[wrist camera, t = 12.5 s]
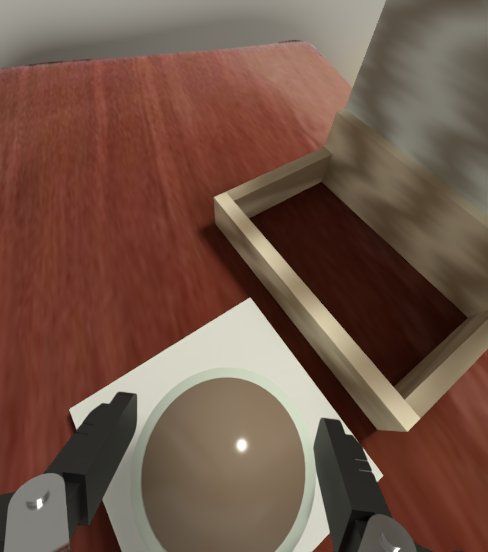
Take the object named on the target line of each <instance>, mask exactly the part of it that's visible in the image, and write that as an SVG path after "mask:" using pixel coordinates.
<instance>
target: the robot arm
mask: <svg viewBox="0 0 488 552" xmlns="http://www.w3.org/2000/svg"><path fill="white" fill-rule="evenodd" d="M136 426H137V394H136V393H128V392H120V391H119V392H117V393H116V395H115V396H114V398H113V399H112V401H111V402H110V403H109V404H107V403H102V404H100V405H99V406H97V407H96V408H95V409H93V410H92V411H91V412H90V413H89V414H88V416H87V417H86V418H85V420H84V421H83V422H82V425H80V426H79V427H78V429H77V430H76V431H75V434H73V435H72V437H71V438H70V439H69V441H68V442H67V443H66V445H65V446H64V447H63V449H62V450H61V451H60V453H59V454H58V455H57V457H56V458H55V459H54V461H53V462H52V463H51V465H50V466H49V467H48V469H47V470H46V471H45V472H44V474H42V475H39V476H37V477H35V478H33V479H31V480H29V481H28V482H26V483H25V484H24V485H22V486H21V487H20V488H19V489H18V490H17V491H16V492H12V493H8V494H3V495H0V552H71V543H70V539H71V537H72V535H73V534H74V532H75V530H76V528H77V526H78V525H84V526H89V525H90V523H91V521H92V519H93V517H94V515H95V513H96V511H97V509H98V507H99V505H100V503H101V501H102V499H103V497H104V495H105V493H106V491H107V489H108V487H109V485H110V483H111V481H112V479H113V477H114V475H115V473H116V471H117V469H118V466H119V464H120V462H121V460H122V458H123V456H124V454H125V452H126V450H127V448H128V446H129V444H130V442H131V440H132V438H133V436H134V433H135V430H136ZM313 451H314V457H315V466H316V473H317V477H318V481H319V486H320V490H321V495H322V499H323V504H324V508H325V513H326V517H327V522H328V526H329V531H330V535H331V540H332V544H333V548H334V552H432V551H430V550H428V549H426V548H424V547H422V546H420V545H418V544H417V543H415V542H414V541H413V540H412V538H411V537H410V535H409V534H408V532H407V531H406V530H405V529H404V528H403V527H402V526H401V525H400V524H399V523H398V522H397V521H395V520H394V519H393V518H392V516H391V513H390V511H389V509H388V506H387V504H386V502H385V499H384V497H383V495H382V492H381V490H380V488H379V485H378V483H377V481H376V478H375V476H374V474H373V473H372V469H371V467H370V464H369V462H368V461H367V457H366V455H365V453H364V450H363V448H362V446H361V445H360V444H359V442H358V441H357V440H356V439H355V438H354V436H353V435H349V434H345V431H344V429H343V426H342V424H341V421H340V420H338V419H330V418H321V419H320V421H319V425H318V429H317V433H316V437H315V441H314V446H313ZM453 552H463V551H453Z"/></svg>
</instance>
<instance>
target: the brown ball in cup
mask: <svg viewBox="0 0 488 552" xmlns="http://www.w3.org/2000/svg"><path fill="white" fill-rule="evenodd" d="M315 485H316V466H315V457H314V451H313V446H312V442H311V438H310V435H309V432H308V429H307V427H306V424H305V422H304V420H303V418H302V416H301V414H300V413H299V411H298V409H297V408H296V406H295V405H294V403H293V402H292V401H291V399H290V398H289V397H288V396H287V395H286V394H285V393H284V392H283V391H282V390H281V389H280V388H279V387H278V386H277V385H275V384H274V383H273V382H271V381H270V380H268V379H266V378H265V377H263V376H261V375H259V374H257V373H254V372H252V371H248V370H244V369H239V368H215V369H209V370H206V371H202V372H199V373H197V374H195V375H192V376H190V377H188V378H187V379H185V380H183V381H182V382H180V383H179V384H178V385H176V386H175V387H174V388H172V389H171V390H170V391H169V392H168V393H167V394H166V395H165V396H164V397H163V398H162V399H161V400H160V402H159V403H158V404H157V405H156V406H155V408H154V409H153V411H152V412H151V414H150V416H149V417H148V419H147V421H146V423H145V425H144V427H143V429H142V431H141V433H140V436H139V439H138V441H137V444H136V448H135V452H134V456H133V461H132V467H131V479H130V492H131V504H132V509H133V514H134V519H135V522H136V525H137V528H138V531H139V534H140V536H141V538H142V540H143V542H144V544H145V546H146V548H147V550H148V551H149V552H293V550H294V548H295V547H296V545H297V544H298V542H299V541H300V539H301V536H302V534H303V532H304V530H305V528H306V526H307V523H308V520H309V517H310V514H311V510H312V505H313V501H314V495H315Z"/></svg>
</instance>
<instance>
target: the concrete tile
mask: <svg viewBox="0 0 488 552" xmlns="http://www.w3.org/2000/svg"><path fill="white" fill-rule="evenodd" d="M215 368H239V369H244V370H248V371H252V372H254V373H257V374H259V375H261V376H263V377H265V378H266V379H268V380H270V381H271V382H273V383H274V384H275V385H277V386H278V387H279V388H280V389H281V390H282V391H283V392H284V393H285V394H286V395H287V396H288V397H289V398H290V399H291V401H292V402H293V403H294V405H295V406H296V408H297V409H298V411H299V413H300V414H301V416H302V418H303V420H304V422H305V424H306V427H307V429H308V432H309V435H310V438H311V442H312V446H314V441H315V437H316V433H317V429H318V425H319V421H320V419H321V418H330V419H338V420H340V421H341V424H342V426H343V429H344V431H345V434H349V435H353V434H352V433H351V431H350V430H349V429H348V427H347V426H346V425H345V423H344V422H343V421H342V419H341V418H340V417H339V415H338V414H337V413H336V411H335V410H334V409H333V407H332V406H331V405H330V403H329V402H328V401H327V399H326V398H325V397H324V395H323V394H322V393H321V391H320V390H319V389H318V387H317V386H316V385H315V383H314V382H313V381H312V379H311V378H310V377H309V375H308V374H307V373H306V371H305V370H304V369H303V367H302V366H301V365H300V363H299V362H298V361H297V359H296V358H295V357H294V355H293V354H292V352H291V351H290V350H289V348H288V347H287V346H286V344H285V343H284V342H283V340H282V339H281V338H280V336H279V335H278V334H277V332H276V331H275V330H274V328H273V327H272V326H271V324H270V323H269V322H268V320H267V319H266V318H265V316H264V315H263V314H262V312H261V311H260V310H259V308H258V307H257V306H256V304H255V303H254V302H253V300H252V299H251V298H248V299H247V300H245V301H244V302H242V303H240V304H239V305H237V306H235V307H234V308H232V309H231V310H229V311H227V312H226V313H224V314H223V315H221V316H219V317H218V318H216V319H214V320H213V321H211V322H210V323H208V324H206V325H205V326H203V327H202V328H200V329H198V330H197V331H195V332H193V333H192V334H190V335H189V336H187V337H185V338H184V339H182V340H181V341H179V342H177V343H176V344H174V345H172V346H171V347H169V348H168V349H166V350H164V351H163V352H161V353H160V354H158V355H156V356H155V357H153V358H151V359H150V360H148V361H147V362H145V363H143V364H142V365H140V366H139V367H137V368H135V369H134V370H132V371H130V372H129V373H127V374H126V375H124V376H122V377H121V378H119V379H118V380H116V381H114V382H113V383H111V384H109V385H108V386H106V387H105V388H103V389H101V390H100V391H98V392H97V393H95V394H93V395H92V396H90V397H88V398H87V399H85V400H84V401H82V402H80V403H79V404H77V405H76V406H74V407H72V408H71V409H69V410H70V413H71V416H72V419H73V421H74V424H75V427H76V429H78V427H79V426H80V425H82V422H83V421H84V420H85V418H86V417H87V416H88V414H89V413H90V412H91V411H92V410H93V409H95V408H96V407H97V406H99V405H100V404H102V403H107V404H109V403H110V402H111V401H112V399H113V398H114V396H115V395H116V393H117V392H119V391H120V392H128V393H136V394H137V426H136V430H135V433H134V436H133V438H132V440H131V442H130V444H129V446H128V448H127V450H126V452H125V454H124V456H123V458H122V460H121V462H120V464H119V466H118V469H117V471H116V473H115V475H114V477H113V479H112V481H111V483H110V485H109V487H108V489H107V491H106V493H105V495H104V497H103V499H102V500H103V502H104V505H105V508H106V511H107V513H108V516H109V519H110V521H111V524H112V527H113V529H114V532H115V535H116V538H117V540H118V543H119V546H120V548H121V551H122V552H149V551H148V550H147V548H146V546H145V544H144V542H143V540H142V538H141V536H140V534H139V531H138V528H137V525H136V522H135V519H134V514H133V509H132V504H131V492H130V479H131V467H132V461H133V456H134V452H135V448H136V444H137V441H138V439H139V436H140V433H141V431H142V429H143V427H144V425H145V423H146V421H147V419H148V417H149V416H150V414H151V412H152V411H153V409H154V408H155V406H156V405H157V404H158V403H159V402H160V400H161V399H162V398H163V397H164V396H165V395H166V394H167V393H168V392H169V391H170V390H171V389H172V388H174V387H175V386H176V385H178V384H179V383H180V382H182V381H183V380H185V379H187V378H188V377H190V376H192V375H195V374H197V373H199V372H202V371H206V370H209V369H215ZM353 436H354V435H353ZM354 438H355V437H354ZM355 439H356V438H355ZM363 450H364V449H363ZM364 453H365V455H366V457H367V461H368V462H369V464H370V467H371V469H372V473H373V474H374V476H375V478H376V481H377V482H378V481H379V480H380V479H381V478H382V477H383V474H382V473H381V472H380V470H379V469H378V468H377V466H376V465H375V464H374V462H373V461H372V460H371V458H370V457H369V456H368V454H367V453H366V452H365V450H364ZM329 533H330V531H329V526H328V522H327V517H326V513H325V508H324V504H323V499H322V495H321V490H320V486H319V481H318V477H317V473H316V485H315V495H314V501H313V505H312V510H311V514H310V517H309V520H308V523H307V526H306V528H305V530H304V532H303V534H302V536H301V539H300V541H299V542H298V544H297V545H296V547H295V548H294V550H293V552H312V551H313V550H314V549H315V548H316V547H317V546H318V545H319V544H320V543H321V542H322V540H323V539H324V538H325V537H326V536H327V535H328V534H329Z"/></svg>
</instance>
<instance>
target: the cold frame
mask: <svg viewBox="0 0 488 552" xmlns="http://www.w3.org/2000/svg"><path fill="white" fill-rule="evenodd" d="M320 182H322V183H323V184H324V185H325V186H326V187H328V188H329V189H330V190H331V191H332V192H333V193H334V194H335V195H336V196H337V197H338V198H339V199H340V200H342V201H343V202H344V203H345V204H346V205H347V206H348V207H349V208H350V209H351V210H352V211H353V212H354V213H356V214H357V215H358V216H359V217H360V218H361V219H362V220H363V221H364V222H365V223H366V224H367V225H369V226H370V227H371V228H372V229H373V230H374V231H375V232H376V233H377V234H378V235H379V236H380V237H381V238H383V239H384V240H385V241H386V242H387V243H388V244H389V245H390V246H391V247H392V248H393V249H394V250H395V251H397V252H398V253H399V254H400V255H401V256H402V257H403V258H404V259H405V260H406V261H407V262H408V263H410V264H411V265H412V266H413V267H414V268H415V269H416V270H417V271H418V272H419V273H420V274H421V275H422V276H424V277H425V278H426V279H427V280H428V281H429V282H430V283H431V284H432V285H433V286H434V287H435V288H436V289H438V290H439V291H440V292H441V293H442V294H443V295H444V296H445V297H446V298H447V299H448V300H449V301H451V302H452V303H453V304H454V305H455V306H456V307H457V308H458V309H459V310H460V311H461V312H462V313H463V314H465V315H466V316H467V317H468V318H467V319H466V320H465V321H464V322H463V323H462V324H461V325H460V326H459V327H457V328H456V329H455V330H454V331H453V332H452V333H451V334H450V335H449V336H448V337H447V338H446V339H445V340H443V341H442V342H441V343H440V344H439V345H438V346H437V347H436V348H435V349H434V350H433V351H432V352H431V353H429V354H428V355H427V356H426V357H425V358H424V359H423V360H422V361H421V362H420V363H419V364H418V365H417V366H416V367H414V368H413V369H412V370H411V371H410V372H409V373H408V374H407V375H406V376H405V377H404V378H403V379H402V380H400V381H399V382H398V383H397V384H396V385H395V386H394V387H393V386H392V385H391V384H390V382H389V381H388V380H387V379H386V378H385V377H384V375H383V374H382V373H381V372H380V371H379V370H378V368H377V367H376V366H375V365H374V364H373V363H372V361H371V360H370V359H369V358H368V357H367V356H366V354H365V353H364V352H363V351H362V350H361V349H360V347H359V346H358V345H357V344H356V343H355V342H354V341H353V339H352V338H351V337H350V336H349V335H348V334H347V332H346V331H345V330H344V329H343V328H342V327H341V325H340V324H339V323H338V322H337V321H336V320H335V318H334V317H333V316H332V315H331V314H330V313H329V311H328V310H327V309H326V308H325V307H324V306H323V304H322V303H321V302H320V301H319V300H318V299H317V297H316V296H315V295H314V294H313V293H312V292H311V290H310V289H309V288H308V287H307V286H306V285H305V283H304V282H303V281H302V280H301V279H300V278H299V276H298V275H297V274H296V273H295V272H294V271H293V270H292V268H291V267H290V266H289V265H288V264H287V263H286V261H285V260H284V259H283V258H282V257H281V256H280V254H279V253H278V252H277V251H276V250H275V249H274V247H273V246H272V245H271V244H270V243H269V242H268V240H267V239H266V238H265V237H264V236H263V235H262V233H261V232H260V231H259V230H258V229H257V228H256V226H255V225H254V224H253V223H252V222H251V221H250V219H249V218H251V217H253V216H255V215H257V214H259V213H261V212H263V211H265V210H267V209H269V208H271V207H273V206H275V205H277V204H279V203H281V202H282V201H284V200H286V199H288V198H290V197H292V196H294V195H296V194H298V193H300V192H302V191H304V190H306V189H308V188H310V187H312V186H314V185H316V184H318V183H320ZM214 208H215V224H216V225H217V226H218V228H219V229H220V230H221V232H222V233H223V234H224V235H225V237H226V238H227V239H228V240H229V242H230V243H231V244H232V246H233V247H234V248H235V249H236V251H237V252H238V253H239V254H240V256H241V257H242V258H243V260H244V261H245V262H246V263H247V265H248V266H249V267H250V268H251V270H252V271H253V272H254V274H255V275H256V276H257V277H258V279H259V280H260V281H261V282H262V284H263V285H264V286H265V288H266V289H267V290H268V291H269V293H270V294H271V295H272V296H273V298H274V299H275V300H276V302H277V303H278V304H279V305H280V307H281V308H282V309H283V310H284V312H285V313H286V314H287V315H288V317H289V318H290V319H291V321H292V322H293V323H294V324H295V326H296V327H297V328H298V329H299V331H300V332H301V333H302V335H303V336H304V337H305V338H306V340H307V341H308V342H309V343H310V345H311V346H312V347H313V349H314V350H315V351H316V352H317V354H318V355H319V356H320V357H321V359H322V360H323V361H324V363H325V364H326V365H327V366H328V368H329V369H330V370H331V371H332V373H333V374H334V375H335V377H336V378H337V379H338V380H339V382H340V383H341V384H342V385H343V387H344V388H345V389H346V391H347V392H348V393H349V394H350V396H351V397H352V398H353V399H354V401H355V402H356V403H357V405H358V406H359V407H360V408H361V410H362V411H363V412H364V413H365V415H366V416H367V417H368V419H369V420H370V421H371V422H372V424H373V425H374V426H375V427H376V429H377V430H387V431H402V432H408V431H409V430H410V429H411V428H412V427H413V426H414V425H415V424H416V422H417V421H418V420H419V419H420V418H421V417H422V416H423V415H424V414H425V413H426V412H427V411H428V410H429V409H430V408H431V407H432V406H433V405H434V404H435V403H436V402H437V401H438V400H439V399H440V398H441V397H442V396H443V395H444V394H445V393H446V391H447V390H448V389H449V388H450V387H451V386H452V385H453V384H454V383H455V382H456V381H457V380H458V379H459V378H460V377H461V376H462V375H463V374H464V373H465V372H466V371H467V370H468V369H469V368H470V367H471V366H472V365H473V364H474V363H475V362H476V360H477V359H478V358H479V357H480V356H481V355H482V354H483V353H484V352H485V351H486V350H487V349H488V0H386V2H385V5H384V8H383V10H382V13H381V16H380V18H379V21H378V23H377V26H376V29H375V31H374V34H373V36H372V39H371V42H370V44H369V47H368V49H367V52H366V55H365V57H364V60H363V63H362V65H361V68H360V70H359V73H358V76H357V78H356V81H355V83H354V86H353V89H352V91H351V94H350V97H349V99H348V102H347V104H346V107H345V109H342V110H340V111H338V112H337V113H336V116H335V118H334V121H333V124H332V127H331V129H330V132H329V135H328V138H327V141H326V143H325V146H324V147H323V148H321V149H319V150H317V151H314V152H312V153H310V154H308V155H306V156H303V157H301V158H299V159H297V160H295V161H292V162H290V163H288V164H286V165H284V166H282V167H279V168H277V169H275V170H273V171H271V172H268V173H266V174H264V175H262V176H260V177H257V178H255V179H253V180H251V181H249V182H246V183H244V184H242V185H240V186H238V187H235V188H233V189H231V190H229V191H227V192H225V193H222V194H220V195H218V196H216V197H214Z"/></svg>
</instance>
